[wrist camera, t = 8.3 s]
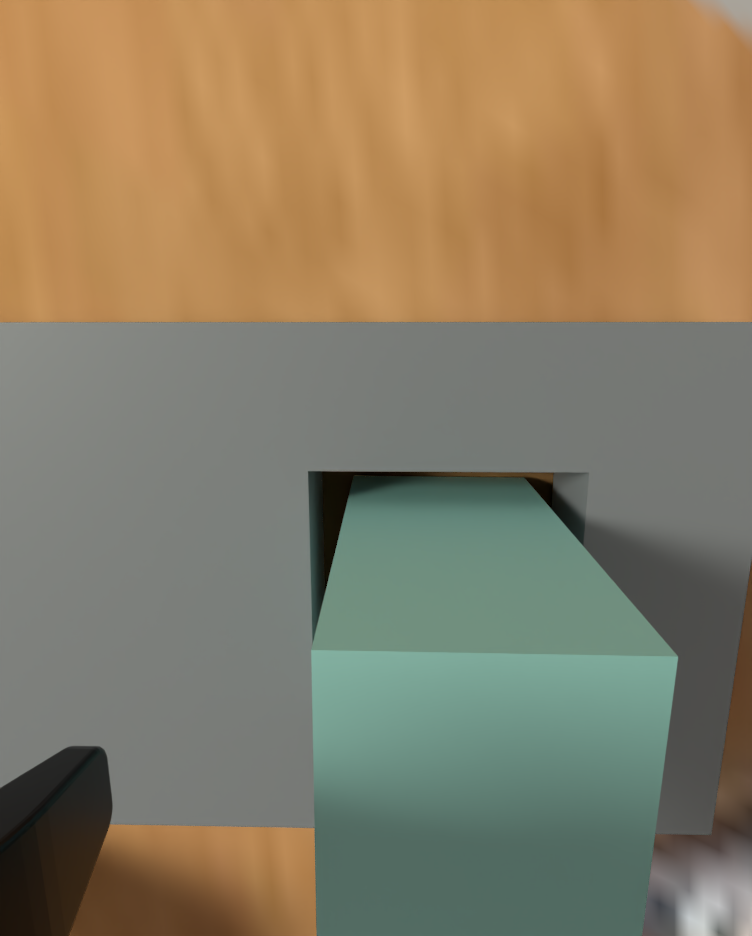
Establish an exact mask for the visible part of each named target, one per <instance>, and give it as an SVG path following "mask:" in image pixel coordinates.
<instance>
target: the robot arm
mask: <svg viewBox="0 0 752 936" xmlns="http://www.w3.org/2000/svg"><path fill="white" fill-rule="evenodd" d="M112 810H113V801H112V792H111V784H110V775H109V766H108V758H107V754H106V752H105V750H104V749H103V748H101V747H100V746H69V747H66V748H65V749H63V750H61V751H59V752H58V753H56V754H55V755H53V756H51V757H50V758H48V759H46V760H45V761H43V762H41V763H40V764H38V765H37V766H35V767H33V768H32V769H30V770H28V771H27V772H25V773H24V774H22V775H20V776H19V777H17V778H15V779H14V780H12V781H10V782H9V783H7V784H6V785H4V786H2V787H1V788H0V936H69V934H70V932H71V929H72V926H73V923H74V921H75V918H76V915H77V913H78V910H79V907H80V904H81V902H82V899H83V896H84V894H85V891H86V888H87V885H88V883H89V880H90V877H91V875H92V872H93V869H94V866H95V864H96V861H97V858H98V856H99V853H100V850H101V847H102V845H103V842H104V839H105V837H106V834H107V831H108V828H109V825H110V822H111V818H112Z"/></svg>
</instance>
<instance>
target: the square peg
mask: <svg viewBox="0 0 752 936" xmlns="http://www.w3.org/2000/svg"><path fill="white" fill-rule="evenodd" d="M677 662H678V656H677V655H676V653H675V652H674V651H673V650H672V649H671V648H670V646H669V645H668V644H667V643H666V642H665V641H664V639H663V638H662V637H661V636H660V635H659V634H658V633H657V631H656V630H655V629H654V628H653V627H652V626H651V624H650V623H649V622H648V621H647V620H646V619H645V617H644V616H643V615H642V614H641V613H640V612H639V610H638V609H637V608H636V607H635V606H634V605H633V603H632V602H631V601H630V600H629V599H628V598H627V596H626V595H625V594H624V593H623V592H622V591H621V589H620V588H619V587H618V586H617V585H616V584H615V583H614V581H613V580H612V579H611V578H610V577H609V576H608V574H607V573H606V572H605V571H604V570H603V569H602V567H601V566H600V565H599V564H598V563H597V562H596V560H595V559H594V558H593V557H592V556H591V555H590V553H589V552H588V551H587V550H586V549H585V548H584V546H583V545H582V544H581V543H580V542H579V541H578V539H577V538H576V537H575V536H574V535H573V534H572V533H571V531H570V530H569V529H568V528H567V527H566V526H565V524H564V523H563V522H562V521H561V520H560V519H559V517H558V516H557V515H556V514H555V513H554V512H553V510H552V509H551V508H550V507H549V506H548V505H547V503H546V502H545V501H544V500H543V499H542V498H541V496H540V495H539V494H538V493H537V492H536V491H535V489H534V488H533V487H532V486H531V485H530V484H529V483H528V481H527V480H526V479H525V478H519V477H434V476H353V480H352V484H351V489H350V493H349V497H348V501H347V505H346V509H345V513H344V517H343V521H342V526H341V530H340V534H339V538H338V542H337V546H336V550H335V554H334V558H333V562H332V567H331V571H330V575H329V579H328V583H327V587H326V591H325V595H324V599H323V604H322V608H321V612H320V616H319V620H318V624H317V628H316V632H315V636H314V641H313V645H312V649H311V666H312V718H313V770H314V822H315V874H316V925H317V936H642V931H643V923H644V916H645V908H646V900H647V893H648V885H649V877H650V870H651V862H652V854H653V847H654V839H655V831H656V824H657V816H658V808H659V801H660V793H661V785H662V778H663V770H664V762H665V755H666V747H667V739H668V731H669V724H670V716H671V708H672V701H673V693H674V685H675V678H676V670H677Z"/></svg>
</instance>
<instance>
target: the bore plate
mask: <svg viewBox="0 0 752 936" xmlns="http://www.w3.org/2000/svg"><path fill="white" fill-rule="evenodd" d="M322 471H371V472H554V478H553V492H552V507H551V509H552V510H553V512H554V513H555V514H556V515H557V516H558V517H559V519H560V520H561V521H562V522H563V523H564V524H565V526H566V527H567V528H568V529H569V530H570V531H571V533H572V534H573V535H574V536H575V537H576V538H577V539H578V541H579V542H580V543H581V544H582V545H583V546H584V548H585V549H586V550H587V551H588V552H589V553H590V555H591V556H592V557H593V558H594V559H595V560H596V562H597V563H598V564H599V565H600V566H601V567H602V569H603V570H604V571H605V572H606V573H607V574H608V576H609V577H610V578H611V579H612V580H613V581H614V583H615V584H616V585H617V586H618V587H619V588H620V589H621V591H622V592H623V593H624V594H625V595H626V596H627V598H628V599H629V600H630V601H631V602H632V603H633V605H634V606H635V607H636V608H637V609H638V610H639V612H640V613H641V614H642V615H643V616H644V617H645V619H646V620H647V621H648V622H649V623H650V624H651V626H652V627H653V628H654V629H655V630H656V631H657V633H658V634H659V635H660V636H661V637H662V638H663V639H664V641H665V642H666V643H667V644H668V645H669V646H670V648H671V649H672V650H673V651H674V652H675V653H676V655H677V656H678V662H677V670H676V678H675V685H674V693H673V701H672V708H671V716H670V724H669V731H668V739H667V747H666V755H665V762H664V770H663V778H662V785H661V793H660V801H659V808H658V816H657V824H656V831H655V834H686V835H711V832H712V826H713V819H714V812H715V805H716V798H717V791H718V785H719V778H720V771H721V764H722V757H723V751H724V744H725V737H726V730H727V723H728V717H729V710H730V703H731V696H732V689H733V682H734V676H735V669H736V662H737V655H738V648H739V642H740V635H741V628H742V621H743V614H744V608H745V601H746V594H747V587H748V580H749V574H750V567H751V560H752V322H29V323H0V788H1V787H2V786H4V785H6V784H7V783H9V782H10V781H12V780H14V779H15V778H17V777H19V776H20V775H22V774H24V773H25V772H27V771H28V770H30V769H32V768H33V767H35V766H37V765H38V764H40V763H41V762H43V761H45V760H46V759H48V758H50V757H51V756H53V755H55V754H56V753H58V752H59V751H61V750H63V749H65V748H66V747H69V746H100V747H101V748H103V749H104V750H105V752H106V754H107V758H108V766H109V775H110V784H111V792H112V801H113V810H112V818H111V822H110V824H125V825H181V826H237V827H293V828H315V822H314V770H313V718H312V666H311V649H312V645H313V641H314V636H315V632H316V628H317V624H318V620H319V616H320V612H321V608H322V604H323V599H324V595H325V573H324V525H323V476H322Z"/></svg>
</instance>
